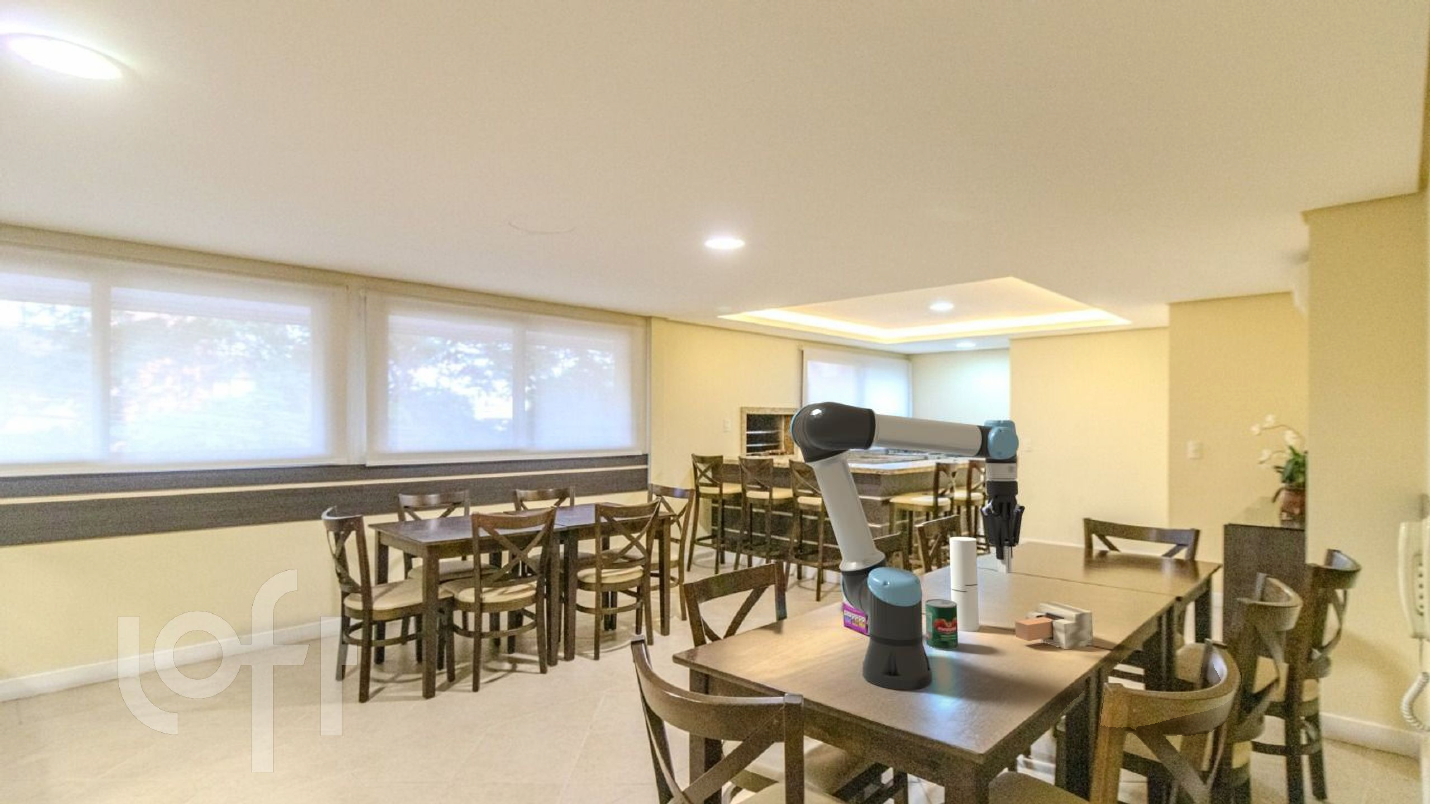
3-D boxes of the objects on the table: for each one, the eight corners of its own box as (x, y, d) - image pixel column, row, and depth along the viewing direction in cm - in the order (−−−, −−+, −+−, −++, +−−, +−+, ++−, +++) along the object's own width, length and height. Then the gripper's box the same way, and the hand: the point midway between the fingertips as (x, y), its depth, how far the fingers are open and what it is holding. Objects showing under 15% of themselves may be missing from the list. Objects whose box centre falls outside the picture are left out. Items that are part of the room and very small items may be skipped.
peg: (1028, 641, 166) (1027, 625, 166) (1015, 636, 169) (1015, 621, 170) (1057, 636, 169) (1056, 620, 170) (1044, 632, 173) (1043, 616, 173)
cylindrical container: (983, 631, 181) (980, 540, 182) (957, 631, 181) (954, 540, 183) (973, 624, 188) (970, 536, 190) (948, 624, 188) (946, 537, 190)
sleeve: (1065, 649, 165) (1063, 616, 165) (1026, 636, 176) (1025, 605, 176) (1093, 644, 169) (1091, 611, 169) (1053, 632, 180) (1052, 601, 180)
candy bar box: (881, 634, 180) (880, 573, 180) (867, 636, 177) (865, 575, 178) (856, 623, 190) (855, 566, 191) (842, 625, 188) (841, 568, 189)
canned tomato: (946, 652, 164) (945, 608, 164) (919, 644, 170) (918, 602, 171) (964, 646, 168) (963, 603, 169) (938, 639, 175) (937, 597, 175)
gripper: (992, 481, 162) (996, 577, 161) (1033, 479, 167) (1036, 572, 166) (970, 479, 169) (973, 571, 168) (1009, 478, 174) (1013, 567, 173)
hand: (1004, 572), depth 167 cm, fingers closed
